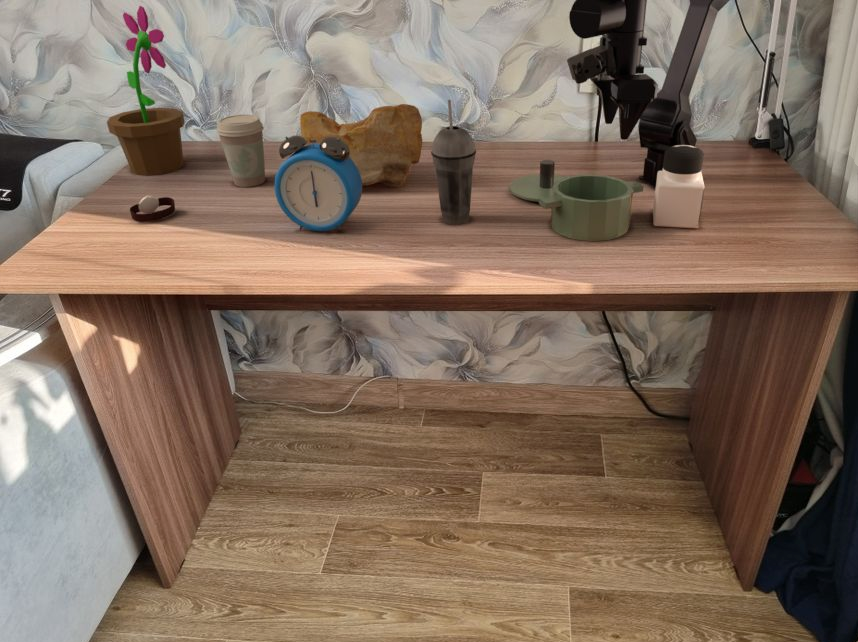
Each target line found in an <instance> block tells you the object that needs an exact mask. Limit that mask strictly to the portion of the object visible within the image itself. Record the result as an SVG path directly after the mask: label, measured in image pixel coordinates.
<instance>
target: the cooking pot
mask: <svg viewBox="0 0 858 642" xmlns="http://www.w3.org/2000/svg"><path fill="white" fill-rule="evenodd" d="M641 192H644V185H643V184H642V183H640V182H638V181H635V180H634V181H628V182H627V181H625V180H623V179H622V178H618V177H614V176H611V175H604V174H602V175H601V174H577V175H570V176H569V175H568V177H565V178H563V179H560V180H558V181H556V182H555V184H554V185H553V186H552V196H550V197H544V198H539V202H538V204H539V205H540V206H541V207H542V208H544V209H545V210H549V209H551V211H550V222H551V223H550V224H551V226H550V227H551V228H552V230H553V231H554V232H555V233H557V234H559V235H560V236H563V237H565V238H569V239H572V240H577V241H585V242H588V241H589V242H601V241H610V240H613V239H618V238H620V237H622V236H623V235H625V234H626V233H627V232H628V231H629V228H630V224H631V215H632V206H633V205H632V204H633V198H634V197H633V196H634V194H635V193H641Z"/></svg>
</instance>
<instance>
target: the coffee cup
mask: <svg viewBox="0 0 858 642" xmlns="http://www.w3.org/2000/svg"><path fill="white" fill-rule="evenodd" d="M264 129H265V128H264V126H263V123H262V121H261V120H260V117H259V116H258V115H254V114H248V113H247V114H244V113H243V114H233V115H228V116H224V117H221V118H219V119H218V120H217V127H216V134H217V135H218V136H219V140H220V143H221V145H222V149H223V152H224V155H225V159H226V161H227V165H228V167H229V171H230V174H231V177H232V180H233V183H234V185H235V186H236V187H240V188H253V187H256V186H261V185H262V184H264V183H265V182H266V172H265V153H264V136H263V135H264V134H263V130H264Z"/></svg>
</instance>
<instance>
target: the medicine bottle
mask: <svg viewBox="0 0 858 642" xmlns="http://www.w3.org/2000/svg"><path fill="white" fill-rule="evenodd" d="M704 158H705V153H704V151H703V150H702V149H700V148H699V147H696V146H695V147H694V146H690V145H676V146H672V147H669V148H668V149H667V150H666V151H665V154H664V162H663V170H662V171H658V173H657V181H656V188H655V189H654V190H655V191H654V198H653V206H652V221H653V223H652V224H653V226H654V227H665V228H682V229H683V228H684V229H698V228H699V227H700V226H699V225H700V220H701V214H702V207H703V202H704V195H705V189H706V187H705V182H704V177H703V173H702V170H703V164H704Z"/></svg>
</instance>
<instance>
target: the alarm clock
mask: <svg viewBox="0 0 858 642" xmlns="http://www.w3.org/2000/svg"><path fill="white" fill-rule="evenodd" d="M309 142H316V140H309ZM307 143H308V142H307V140H306V139H305V138H304V137H302V135H291V136H289V137H288V136H285V139H284V140H283V141H282V142H281V144H280V146H279V149H278V153H279V156H280V158H281V159H282V160H283V159H285V158H287V157H288V158H287V159H285V160H284V161H283V162H282V163H281V165H280V166H279V167H278V169H277V171H276V174H275V178H274V194H275V197H276V201H277V203H278V205H279V207H280V209H281V210H282V212H283V213H284V215H286V216H287V217H288V218H289V220H291V222H293V223H294V224H296V225H298V226H299V231H302V230H303V229H306V230H309V231H313V232H328V231H332V230H335V229H336V230H337V232H339V233H341V231H342V230H341V228H340V226H341V225H343V224H344V223H345V222H346V221H347V220H348V218H349V217H350V216H351V215H352V214H353V212H354V211H355V209H356V208H357V207H358V205H359V203H360V201H361V199H362V195H363V185H362V180H361V176H360V173H359V171H358V168H357V167H356V165H355V163H354V162H353V161H352V160H351V158H350V157H349V155H350V150H349V147H348V145H347V144H346V142H345V141H343V140H342V139H340V138H338V137H335V136H329V137H326V138H324V139H323V140H322V141H321V142H320V143H314V144H309V145H306V144H307ZM304 145H306V146H304Z"/></svg>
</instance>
